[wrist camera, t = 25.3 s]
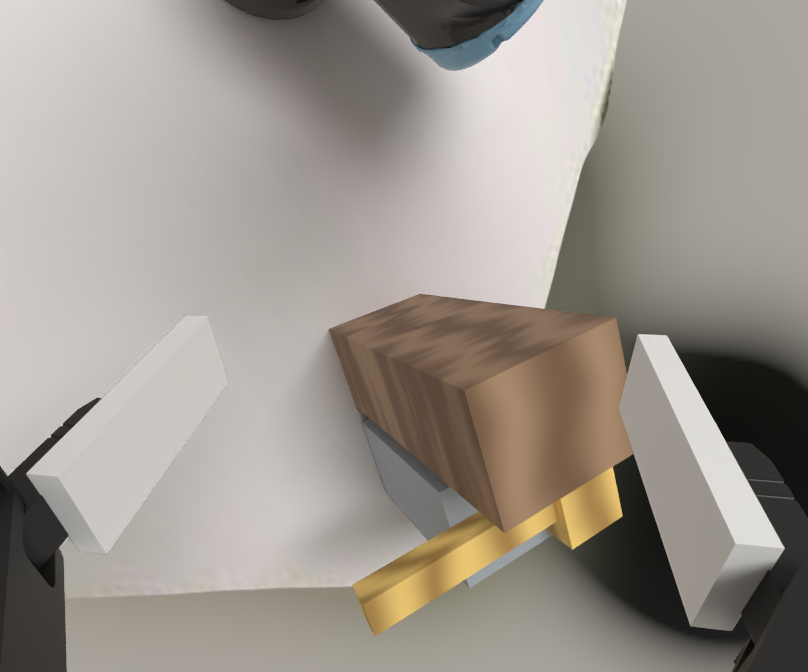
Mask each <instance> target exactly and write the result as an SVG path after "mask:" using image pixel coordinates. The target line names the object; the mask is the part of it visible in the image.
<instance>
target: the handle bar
mask: <svg viewBox="0 0 808 672" xmlns="http://www.w3.org/2000/svg"><path fill="white" fill-rule="evenodd" d="M621 517H622V511H621V506H620V501H619V496H618V491H617V486H616V481H615V476H614V471H613V467H611V468H610V469H608V470H606V471H605V472H603V473H601V474H600V475H598V476H597V477H595V478H593V479H592V480H590V481H589V482H587V483H585V484H584V485H582V486H580V487H579V488H577V489H576V490H574V491H572V492H571V493H569V494H567V495H566V496H564V497H563V498H561V499H559V500H558V501H556V502H554V503H553V504H551V505H550V506H548V507H546V508H545V509H543V510H542V511H540V512H538V513H537V514H535V515H533V516H532V517H530V518H529V519H527V520H525V521H524V522H522V523H520V524H519V525H517V526H516V527H514V528H512V529H511V530H509V531H508V532H506V533H504V532H503V531H501V530H500V529H499V528H498V527H497V526H495V525H494V524H493V523H492V522H491V521H490V520H488V519H487V518H486V517H485V516H484V515H482V514H481V513H480V512H479V511H478V512H477V513H475V514H473V515H472V516H470V517H468V518H466V519H465V520H463V521H461V522H460V523H458V524H456V525H454V526H453V527H451V528H449V529H448V530H446V531H444V532H442V533H441V534H439V535H437V536H436V537H434V538H432V539H430V540H429V541H427V542H425V543H424V544H422V545H420V546H418V547H417V548H415V549H413V550H412V551H410V552H408V553H406V554H405V555H403V556H401V557H399V558H398V559H396V560H394V561H393V562H391V563H389V564H387V565H386V566H384V567H382V568H381V569H379V570H377V571H375V572H374V573H372V574H370V575H369V576H367V577H365V578H363V579H362V580H360V581H358V582H357V583H355V584H353V588H354V590H355V593H356V595H357V598H358V601H359V603H360V606H361V608H362V611H363V613H364V616H365V618H366V620H367V622H368V623H369V626H370V628H371V629H372V632H373V634H374V636H376V635H378V634H380V633H381V632H383V631H384V630H386V629H387V628H389V627H391V626H392V625H394V624H395V623H397V622H398V621H400V620H402V619H403V618H405V617H406V616H408V615H410V614H411V613H413V612H414V611H416V610H417V609H419V608H421V607H422V606H424V605H425V604H427V603H428V602H430V601H432V600H433V599H435V598H436V597H438V596H439V595H441V594H443V593H444V592H446V591H448V590H449V589H451V588H452V587H454V586H456V585H457V584H459V583H460V582H462V581H463V580H465V579H467V578H468V577H470V576H471V575H473V574H474V573H476V572H478V571H479V570H481V569H482V568H484V567H486V566H487V565H489V564H490V563H492V562H493V561H495V560H497V559H498V558H500V557H501V556H503V555H505V554H506V553H508V552H509V551H511V550H512V549H514V548H516V547H517V546H519V545H520V544H522V543H524V542H525V541H527V540H528V539H530V538H531V537H533V536H535V535H536V534H538V533H539V532H541V531H542V530H544V529H546V530H547V531H548V532H550V533H551V534H552V535H554V536H555V537H556V538H558V539H559V540H560V541H562V542H563V543H564V544H566V545H567V546H569V547H570V548H571V549H574V548H575V547H577V546H579V545H580V544H582V543H583V542H584V541H586V540H587V539H589V538H590V537H592V536H593V535H595V534H596V533H598V532H600V531H601V530H602V529H604V528H605V527H607V526H609V525H610V524H612V523H613V522H615V521H616V520H617V519H619V518H621Z"/></svg>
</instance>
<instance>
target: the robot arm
mask: <svg viewBox="0 0 808 672" xmlns="http://www.w3.org/2000/svg"><path fill="white" fill-rule="evenodd" d="M227 1H228V2H230V3H231V4H233V5H234V6H236V7H238V8H240V9H242V10H243V11H246V12H248V13H250V14H253V15H256V16H259V17H264V18H269V19H289V18H294V17H298V16H301V15H303V14H305V13H307V12H309V11H311V10H312V9H314V8H315V7H316V6H317V5H318V4H319V3H320V2H321V1H322V0H227ZM374 1H375V2H376V3H377V4H378V5H379V6H380V7H381V8H382V9H383V10H384V11H385V12H386V13H387V14H388V15H389V17H390V18H391V19H392V20H393V21H394V22H395V23H396V24H397V25H398V26H399V27H400V28H401V29H402V30H403V31H404V32H405V33H406V34H407V35H408V36H409V37H410V40H411V42H412V43H413V44H414V46H415V47H416V48H417V49H418V50H419V51H421V52H424V53H425V54H427V55H428V56H429V57H430V58H431V59H432V60H433V61H435V62H436V63H437V64H438V65H439V66H440V67H442V68H444V69H447V70H452V71H456V70H462V69H466V68H468V67H471V66H473V65H475V64H477V63H479V62H480V61H482V60H484V59H485V58H487V57H488V56H489V55H491V54H492V53H493V52H494V51H496V50H497V48H498V47H499V45H500V44H501V42H503V41H507V40H509V39H510V38H511V37H512V36H513V35H514V34H515V33H516V32H517V31H518V30H519V29H520V28H521V27H522V26H523V25H524V24H525V23H526V22H527V21H528V20H529V18H530V17H531V16H532V15H533V14H534V12H535V11H536V10H537V9H538V7H539V6H540V4H541V3H542V2H543V0H374ZM228 383H229V382H228V379H227V376H226V373H225V369H224V366H223V363H222V359H221V356H220V353H219V349H218V346H217V343H216V339H215V336H214V333H213V329H212V326H211V323H210V319H209V316H200V315H186V316H185V317H184V318H183V319H182V320H181V321H180V322H179V323H178V324H177V325H176V326H175V327H174V328H173V329H172V330H171V331H170V332H169V333H168V334H167V335H166V336H165V337H164V338H163V339H162V340H161V341H160V342H159V343H158V344H157V345H156V346H155V347H154V348H153V349H152V350H151V351H150V352H148V353H147V354H146V355H145V356H144V357H143V358H142V359H141V360H140V361H139V362H138V363H137V364H136V365H135V366H134V367H133V368H132V369H131V370H130V371H129V372H128V373H127V374H126V375H125V376H124V377H123V378H122V379H121V380H120V381H119V382H118V383H117V384H116V385H115V386H114V387H113V388H112V389H111V390H110V391H109V392H108V393H107V394H106V395H105V396H104V397H103V398H96V399H94V400H93V401H91V402H90V403H88V404H86V405H85V406H83V407H81V408H80V409H78V410H77V411H76V412H75V413H74V414H73V415H72V416H71V417H69V418H68V419H67V420H66V421H65V422H64V423H63V426H62V427H59V428H58V429H57V430H56V431H55V432H54V433H53V434H52V435H51V438H48V439H46V440H45V441H44V442H43V443H42V444H41V445H40V446H39V447H38V448H37V449H36V450H35V451H34V452H33V453H32V454H31V455H30V456H29V457H28V458H27V459H26V460H25V461H23V462H22V463H21V464H20V465H19V466H18V467H17V468H16V469H15V470H14V471H13V472H12V473H11V474H10V475H9V476H7V475H6V473H5V472H4V471H3V469H2V468H1V466H0V672H67V670H66V636H65V635H66V633H65V601H64V600H65V597H64V561H63V556H62V553H61V551H60V549H59V547H60V545H61V544H62V543H63V542H64V541H65V539H66V538H67V537H69V538H70V539H71V541H72V542H73V544H74V545H75V547H76V548H77V550H78V551H82V552H90V553H98V554H107V553H108V552H109V551H110V549H111V548H112V546H113V545H114V544H115V542H116V541H117V539H118V538H119V536H120V535H121V534H122V532H123V531H124V529H125V528H126V527H127V525H128V524H129V522H130V521H131V520H132V518H133V517H134V515H135V514H136V513H137V511H138V510H139V508H140V507H141V506H142V504H143V503H144V501H145V500H146V498H147V497H148V496H149V494H150V493H151V491H152V490H153V489H154V487H155V486H156V484H157V483H158V482H159V480H160V479H161V477H162V476H163V475H164V473H165V472H166V470H167V469H168V468H169V466H170V465H171V463H172V462H173V460H174V459H175V458H176V456H177V455H178V453H179V452H180V451H181V449H182V448H183V446H184V445H185V444H186V442H187V441H188V439H189V438H190V437H191V435H192V434H193V432H194V431H195V430H196V428H197V427H198V425H199V424H200V422H201V421H202V420H203V418H204V417H205V415H206V414H207V413H208V411H209V410H210V408H211V407H212V406H213V404H214V403H215V401H216V400H217V399H218V397H219V396H220V394H221V393H222V392H223V390H224V389H225V387H226V386H227V384H228ZM619 410H620V413H621V416H622V419H623V422H624V425H625V428H626V431H627V435H628V438H629V441H630V444H631V447H632V450H633V453H634V456H635V459H636V462H637V464H638V468H639V471H640V474H641V477H642V480H643V483H644V486H645V489H646V492H647V495H648V498H649V501H650V504H651V507H652V510H653V513H654V516H655V520H656V523H657V526H658V528H659V532H660V535H661V538H662V541H663V544H664V547H665V550H666V553H667V556H668V559H669V562H670V565H671V568H672V571H673V574H674V577H675V580H676V583H677V586H678V589H679V592H680V595H681V598H682V601H683V605H684V607H685V610H686V613H687V617H688V620H689V623H690V626H695V627H702V628H710V629H719V630H727V631H732V630H733V628H734V626H735V625H736V623H737V622H738V620H739V619H740V617H741V616H742V617H743V619H744V622H745V624H746V626H747V629H748V631H749V633H750V636H751V637H750V639H749V640H748V642H747V643H746V645H745V646H744V647H743V649H742V650H741V652H740V653H739V655H738V656H737V657H736V659H735V660H734V663H735V666H734V668H733V671H732V672H808V518H807V516H806V515H805V513H804V512H803V510H802V509H801V507H800V505H799V504H798V502H797V501H794V496H793V494H792V493H791V491H790V490H789V488H788V486H787V485H786V484H784V480H783V479H782V477H781V475H780V474H779V472H778V471H777V469H776V467H775V466H774V464H773V463H772V461H771V460H770V459H768V458H767V457H766V456H765V455H764V454H763V453H762V452H760V451H759V450H758V449H757V448H756V447H754V446H753V445H752V444H751V443H739V442H726V441H725V440H724V438H723V436H722V435H721V432H720V431H719V429H718V428H717V425H716V423H715V422H714V420H713V418H712V416H711V414H710V413H709V411H708V409H707V407H706V406H705V404H704V402H703V400H702V398H701V396H700V395H699V393H698V391H697V389H696V387H695V386H694V384H693V382H692V380H691V378H690V377H689V375H688V373H687V371H686V369H685V367H684V366H683V364H682V362H681V360H680V358H679V357H678V355H677V353H676V351H675V349H674V348H673V346H672V344H671V342H670V341H669V339H668V337H667V336H666V335H643V334H642V335H641V334H638V337H637V341H636V344H635V348H634V352H633V356H632V359H631V363H630V367H629V371H628V375H627V378H626V382H625V386H624V390H623V393H622V397H621V401H620V405H619Z"/></svg>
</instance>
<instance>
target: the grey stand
mask: <svg viewBox="0 0 808 672" xmlns="http://www.w3.org/2000/svg"><path fill="white" fill-rule="evenodd" d="M362 425H363V428H364V431H365V434H366V436H367V439H368V442H369V445H370V448H371V451H372V454H373V456H374V459H375V462H376V465H377V468H378V471H379V474H380V476H381V479H382V482H383V485H384V488H385V491H386V493H387V494H388V495H389V496H390V497H391V499H392V500H393V501H394V502H395V503H396V504H397V506H398V507H399V508H400V509H401V510H402V511H403V512H404V514H405V515H406V516H407V517H408V518H409V519H410V521H411V522H412V523H413V524H414V525H415V526H416V527H417V529H418V530H419V531H420V532H421V533H422V534H423V536H424V537H425V538H426V539H427V540H428V541H429V540H430V539H432V538H434V537H436V536H437V535H439V534H441V533H442V532H444V531H446V530H448V529H449V528H451V527H453V526H454V525H456V524H458V523H460V522H461V521H463V520H465V519H466V518H468V517H470V516H472V515H473V514H475V513H477V512H478V510H477V509H475V508H474V507H473V506H472V505H471V504H470V503H468V502H467V501H466V500H465V499H464V498H462V497H461V496H460V495H459V494H458V493H457V492H455V491H454V490H453V489H452V488H451V487H450V486H448V485H447V484H446V483H445V482H444V481H442V480H441V479H440V478H439V477H438V476H437V475H435V474H434V473H433V472H432V471H431V470H430V469H428V468H427V467H426V466H425V465H424V464H422V463H421V462H420V461H419V460H418V459H417V458H415V457H414V456H413V455H412V454H411V453H410V452H408V451H407V450H406V449H405V448H404V447H402V446H401V445H400V444H399V443H398V442H397V441H395V440H394V439H393V438H392V437H391V436H389V435H388V434H387V433H386V432H385V431H384V430H382V429H381V428H380V427H379V426H378V425H377V424H375V423H374V422H373V421H372V420H371V419H367V420H365V421H363V422H362ZM550 536H552V534H551V533H550V532H548V531H547V530H546V529H544V530H542V531H541V532H539V533H538V534H536V535H535V536H533V537H531V538H530V539H528V540H527V541H525V542H524V543H522V544H520V545H519V546H517V547H516V548H514V549H512V550H511V551H509V552H508V553H506V554H505V555H503V556H501V557H500V558H498V559H497V560H495V561H493V562H492V563H490V564H489V565H487V566H486V567H484V568H482V569H481V570H479V571H478V572H476V573H474V574H473V575H471V576H470V577H468V578H467V579H465V580H463V582H464V583H465V584H466V585H467V586H468V587H469V588H471V587H473V586H474V585H476V584H477V583H479V582H480V581H482V580H483V579H485V578H487V577H488V576H490V575H491V574H493V573H494V572H496V571H497V570H499V569H500V568H502V567H504V566H505V565H507V564H508V563H510V562H511V561H513V560H514V559H516V558H518V557H519V556H521V555H522V554H524V553H525V552H527V551H528V550H530V549H531V548H533V547H535V546H536V545H538V544H539V543H541V542H542V541H544V540H545V539H547V538H548V537H550Z"/></svg>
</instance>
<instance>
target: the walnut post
mask: <svg viewBox="0 0 808 672" xmlns="http://www.w3.org/2000/svg"><path fill="white" fill-rule="evenodd" d="M329 331H330V334H331V337H332V339H333V342H334V345H335V348H336V351H337V354H338V356H339V359H340V362H341V365H342V368H343V371H344V374H345V376H346V379H347V382H348V385H349V388H350V391H351V394H352V396H353V399H354V402H355V405H356V407H357V408H358V409H359V410H360V411H361V412H362V413H364V414H365V415H366V416H367V417H368V418H369V419H371V420H372V421H373V422H374V423H375V424H377V425H378V426H379V427H380V428H381V429H382V430H384V431H385V432H386V433H387V434H388V435H389V436H391V437H392V438H393V439H394V440H395V441H397V442H398V443H399V444H400V445H401V446H402V447H404V448H405V449H406V450H407V451H408V452H410V453H411V454H412V455H413V456H414V457H415V458H417V459H418V460H419V461H420V462H421V463H422V464H424V465H425V466H426V467H427V468H428V469H430V470H431V471H432V472H433V473H434V474H435V475H437V476H438V477H439V478H440V479H441V480H442V481H444V482H445V483H446V484H447V485H448V486H450V487H451V488H452V489H453V490H454V491H455V492H457V493H458V494H459V495H460V496H461V497H462V498H464V499H465V500H466V501H467V502H468V503H470V504H471V505H472V506H473V507H474V508H475V509H477V510H478V511H479V512H480V513H481V514H482V515H484V516H485V517H486V518H487V519H488V520H490V521H491V522H492V523H493V524H494V525H495V526H497V527H498V528H499V529H500V530H501V531H503V532H504V533H506V532H508V531H509V530H511V529H512V528H514V527H516V526H517V525H519V524H520V523H522V522H524V521H525V520H527V519H529V518H530V517H532V516H533V515H535V514H537V513H538V512H540V511H542V510H543V509H545V508H546V507H548V506H550V505H551V504H553V503H554V502H556V501H558V500H559V499H561V498H563V497H564V496H566V495H567V494H569V493H571V492H572V491H574V490H576V489H577V488H579V487H580V486H582V485H584V484H585V483H587V482H589V481H590V480H592V479H593V478H595V477H597V476H598V475H600V474H601V473H603V472H605V471H606V470H608V469H610V468H611V467H613V466H614V465H616V464H618V463H619V462H621V461H622V460H624V459H626V458H627V457H629V456H631V455H632V454H634V453H633V450H632V447H631V444H630V441H629V438H628V435H627V431H626V428H625V425H624V422H623V419H622V416H621V413H620V410H619V405H620V401H621V397H622V393H623V390H624V386H625V382H626V378H627V373H626V368H625V362H624V357H623V352H622V346H621V341H620V336H619V330H618V325H617V320H616V318H615V317H606V316H598V315H589V314H581V313H573V312H565V311H556V310H548V309H540V308H532V307H524V306H515V305H507V304H499V303H490V302H482V301H474V300H466V299H457V298H449V297H441V296H433V295H424V294H419V295H416V296H414V297H411V298H408V299H406V300H403V301H401V302H398V303H395V304H393V305H390V306H388V307H385V308H383V309H380V310H377V311H375V312H372V313H370V314H367V315H364V316H362V317H359V318H357V319H354V320H351V321H349V322H346V323H344V324H341V325H339V326H336V327H333V328H331V329H329Z"/></svg>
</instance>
